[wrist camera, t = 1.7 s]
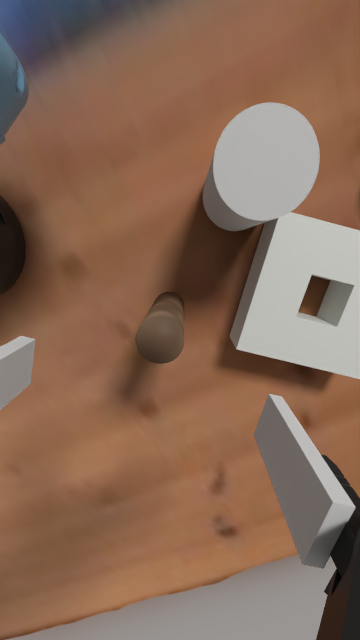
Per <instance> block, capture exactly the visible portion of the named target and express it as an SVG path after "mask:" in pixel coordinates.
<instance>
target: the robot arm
mask: <svg viewBox="0 0 360 640" xmlns="http://www.w3.org/2000/svg"><path fill="white" fill-rule="evenodd" d="M28 92H29V89H28V82H27V78H26V75H25V72H24V70H23V67H22V65H21V63H20V62H19V60H18V58H17V57H16V55H15V54H14V52H13V51H12V49H11V48H10V46H9V45H8V43H7V42H6V40H5V39H4V37H3V36H2V34H1V33H0V145H1V144H2V143H4V141H5V137H4V136H5V134H6V133H7V131H8V130H9V128H10V127H11V125H12V124H13V122H14V121H15V119H16V118H17V116H18V115H19V113H20V112H21V110H22V109H23V108H24V106H25V104H26V102H27V99H28ZM24 259H25V241H24V236H23V232H22V229H21V226H20V223H19V221H18V219H17V217H16V215H15V213H14V212H13V210H12V209H11V207H10V206H9V205H8V204H7V202H6V201H5V200H4V199H3V198H2V197H1V196H0V294H2V293H4V292H5V291H7V290H8V289H9V288H10V287H11V286H12V285H13V284H14V283H15V281H16V280H17V278H18V277H19V275H20V273H21V270H22V268H23V264H24ZM34 348H35V339H33V338H28V337H24V336H20V337H18V338H16V339H14V340H12V341H10V342H9V343H7V344H5V345H3V346H1V347H0V410H1V409H2V408H3V407H5V406H6V405H7V404H8V403H9V402H10V401H12V400H13V399H14V398H15V397H16V396H17V395H19V394H20V393H21V392H22V391H23V390H24V389H25V388H27V387H28V386H29V385H30V383H31V374H32V366H33V357H34ZM254 437H255V439H256V442H257V445H258V447H259V450H260V453H261V455H262V458H263V461H264V463H265V466H266V469H267V471H268V474H269V477H270V479H271V482H272V485H273V487H274V490H275V493H276V495H277V498H278V501H279V503H280V506H281V509H282V511H283V514H284V517H285V519H286V522H287V524H288V527H289V530H290V532H291V535H292V538H293V540H294V543H295V546H296V548H297V551H298V554H299V556H300V559H301V562H302V564H304V565H309V566H315V567H319V568H324V567H325V565H326V563H327V561H328V559H329V557H330V555H331V557H332V559H333V561H334V563H335V566H336V568H337V569H336V571H335V573H334V574H333V576H332V578H331V580H330V582H329V583H328V585H327V587H326V589H325V591H324V592H325V593H326V594H327V595H328V596H327V600H326V604H325V607H324V611H323V615H322V619H321V623H320V627H319V631H318V635H317V639H316V640H360V498H359V497H358V495H357V494H356V492H355V491H354V490H353V488H352V487H350V484H349V483H348V481H347V480H346V478H344V475H343V474H342V473H341V471H340V470H339V468H338V467H337V466H336V465H335V464H334V463H333V462H332V461H331V460H330V459H329V458H328V457H327V456H325V455H321V454H320V453H319V451H318V450H317V448H316V447H315V445H314V444H313V442H312V441H311V439H310V438H309V436H308V435H307V433H306V432H305V430H304V429H303V427H302V426H301V424H300V423H299V422H298V420H297V419H296V417H295V416H294V414H293V413H292V411H291V410H290V408H289V407H288V405H287V404H286V402H285V401H284V399H283V398H282V397H281V396H276V395H272V394H269V395H268V398H267V400H266V403H265V406H264V408H263V411H262V414H261V417H260V419H259V422H258V425H257V427H256V430H255V433H254Z"/></svg>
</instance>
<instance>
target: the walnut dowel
mask: <svg viewBox="0 0 360 640" xmlns="http://www.w3.org/2000/svg"><path fill="white" fill-rule="evenodd" d="M136 345H137V348H138V351H139V352H140V354H141V355H142V356H143V357H144V358H145V359H147V360H148V361H151V362H153V363H159V364H162V363H168V362H170V361H172V360H174V359H175V358H177V357H178V356H179V354H180V353H181V351H182V349H183V345H184V303H183V300H182V299H181V297H180V296H179V295H177V294H176V293H173V292H165V293H162V294H161V295H159V296H158V297H157V299H156V300H155V302H154V304H153V306H152V307H151V309H150V311H149V313H148V314H147V316H146V318H145V319H144V321H143V323H142V325H141V326H140V328H139V330H138V332H137V335H136Z"/></svg>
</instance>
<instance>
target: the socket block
mask: <svg viewBox="0 0 360 640" xmlns="http://www.w3.org/2000/svg"><path fill="white" fill-rule="evenodd" d="M311 275H312V276H316V277H320V278H323V279H327V280H330V283H329V286H328V288H327V291H326V293H325V296H324V298H323V301H322V303H321V306H320V309H319V311H318V314H317V316H312V315H308V314H304V313H300V312H298V310H299V308H300V305H301V302H302V300H303V297H304V294H305V292H306V289H307V286H308V284H309V281H310V278H311ZM230 338H231V340H232V342H233V344H234V346H235V348H236V349H237V350H241V351H245V352H250V353H254V354H258V355H262V356H266V357H270V358H275V359H279V360H283V361H287V362H291V363H295V364H299V365H304V366H308V367H312V368H316V369H320V370H324V371H329V372H333V373H337V374H341V375H345V376H349V377H353V378H358V379H360V231H359V230H355V229H351V228H348V227H344V226H340V225H336V224H333V223H329V222H325V221H322V220H318V219H314V218H310V217H307V216H303V215H299V214H295V213H292V212H289V213H288V214H286V215H284V216H282V217H279V218H276V219H273V220H270V221H268V222H265V223H264V226H263V230H262V233H261V236H260V239H259V242H258V246H257V249H256V252H255V255H254V258H253V262H252V265H251V268H250V271H249V275H248V278H247V281H246V284H245V287H244V291H243V294H242V297H241V300H240V304H239V307H238V310H237V313H236V316H235V320H234V323H233V326H232V329H231V333H230Z"/></svg>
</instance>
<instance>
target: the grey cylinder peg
mask: <svg viewBox="0 0 360 640" xmlns="http://www.w3.org/2000/svg"><path fill="white" fill-rule="evenodd" d="M319 159H320V155H319V145H318V141H317V137H316V134H315V132H314V130H313V128H312V126H311V125H310V123H309V122H308V121H307V119H306V118H305V117H304V116H303V115H302V114H301V113H299V112H298V111H297V110H295V109H293V108H291V107H289V106H287V105H284V104H279V103H262V104H258V105H254V106H252V107H250V108H247V109H246V110H244V111H242V112H241V113H239V114H238V115H237V116H236V117H235V118H234V119H233V120H232V121H231V122H230V123H229V124H228V125H227V126H226V128H225V129H224V131H223V132H222V134H221V136H220V138H219V140H218V143H217V146H216V149H215V152H214V155H213V159H212V162H211V165H210V168H209V172H208V175H207V178H206V181H205V185H204V188H203V205H204V209H205V211H206V213H207V215H208V217H209V218H210V220H211V221H212V222H213V223H214V224H216V225H217V226H218V227H220V228H222V229H225V230H228V231H241V230H245V229H248V228H250V227H253V226H256V225H259V224H262V223H265V222H268V221H270V220H273V219H276V218H279V217H282V216H284V215H286V214H288V213H289V212H291V211H292V210H294V209H295V208H296V207H297V206H298V205H299V204H300V203H301V202H302V201H303V200H304V199H305V198H306V196H307V195H308V193H309V192H310V190H311V188H312V186H313V184H314V182H315V180H316V176H317V173H318V168H319Z"/></svg>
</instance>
